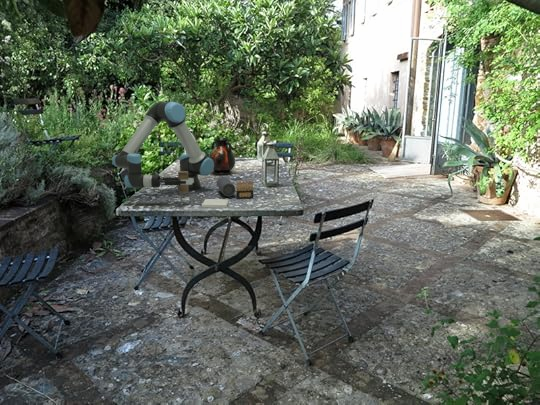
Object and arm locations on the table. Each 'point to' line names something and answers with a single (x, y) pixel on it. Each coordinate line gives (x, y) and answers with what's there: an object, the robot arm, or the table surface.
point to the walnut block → (183, 176)
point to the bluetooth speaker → (226, 186)
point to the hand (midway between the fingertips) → (192, 181)
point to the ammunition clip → (244, 190)
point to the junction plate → (215, 203)
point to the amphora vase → (222, 157)
